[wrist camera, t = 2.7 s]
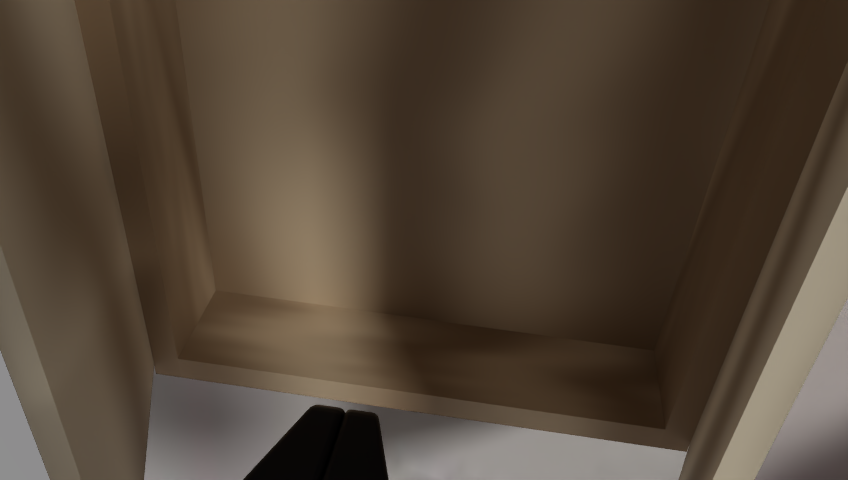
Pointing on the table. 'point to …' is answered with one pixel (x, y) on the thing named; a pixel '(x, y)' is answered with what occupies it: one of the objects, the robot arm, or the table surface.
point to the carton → (460, 194)
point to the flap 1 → (66, 257)
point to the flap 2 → (782, 315)
